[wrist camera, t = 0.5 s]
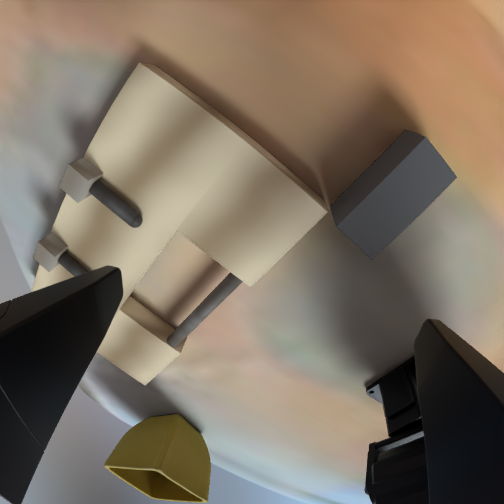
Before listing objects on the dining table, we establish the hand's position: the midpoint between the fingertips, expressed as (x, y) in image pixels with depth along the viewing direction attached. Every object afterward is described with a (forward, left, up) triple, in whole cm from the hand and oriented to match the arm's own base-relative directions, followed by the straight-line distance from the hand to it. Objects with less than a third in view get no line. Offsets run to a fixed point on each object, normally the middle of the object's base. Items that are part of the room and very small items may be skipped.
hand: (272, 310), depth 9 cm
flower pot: (-9, +30, -13) cm, 34 cm away
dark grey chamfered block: (-4, -4, -13) cm, 14 cm away
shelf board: (+5, +11, -13) cm, 17 cm away
